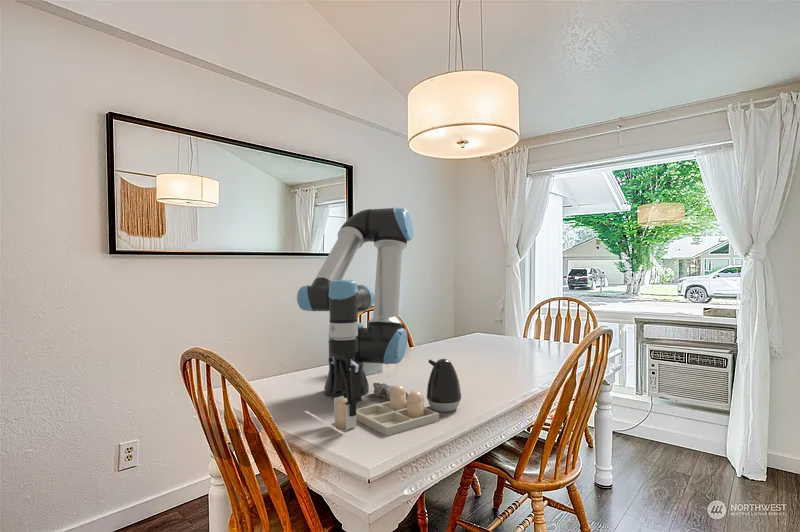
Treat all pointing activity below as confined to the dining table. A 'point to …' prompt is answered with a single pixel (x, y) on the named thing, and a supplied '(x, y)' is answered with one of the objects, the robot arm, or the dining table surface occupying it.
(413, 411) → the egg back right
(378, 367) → the supplement box
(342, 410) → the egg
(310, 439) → the dining table surface
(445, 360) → the pump dispenser
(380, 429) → the egg tray
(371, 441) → the dining table surface
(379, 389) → the mineral rock
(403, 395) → the beige domed cylinder
